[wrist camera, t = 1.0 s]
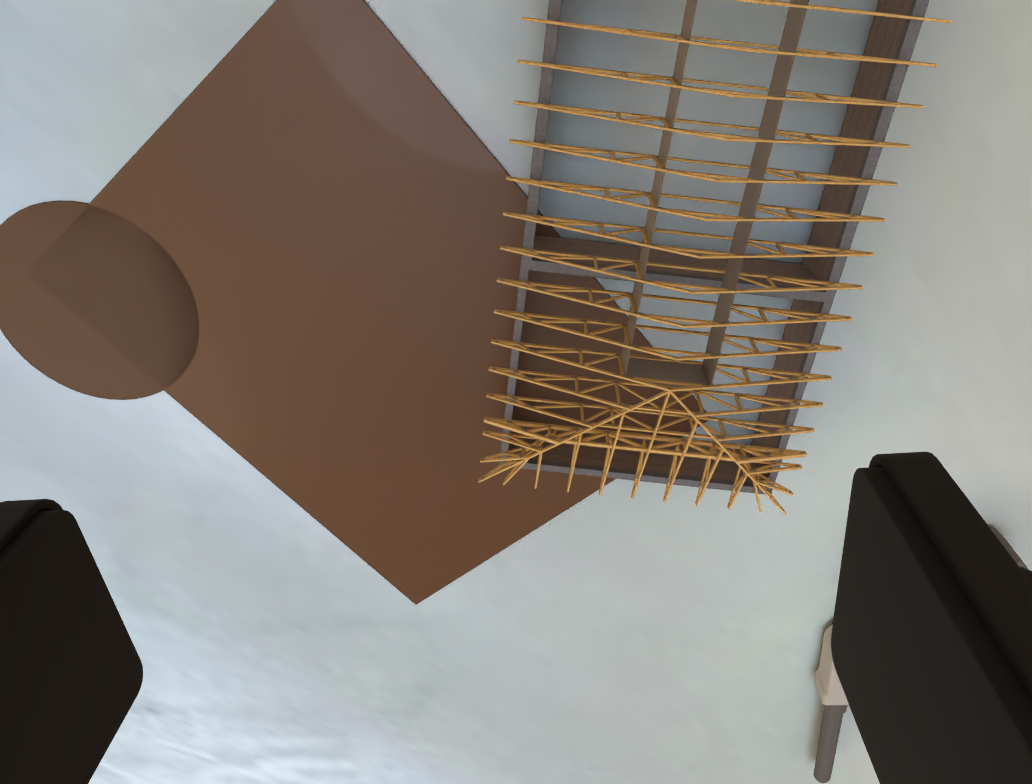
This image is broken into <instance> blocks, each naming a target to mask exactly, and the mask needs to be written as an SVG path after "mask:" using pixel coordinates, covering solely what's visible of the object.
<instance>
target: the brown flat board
mask: <svg viewBox="0 0 1032 784" xmlns="http://www.w3.org/2000/svg"><path fill="white" fill-rule="evenodd" d="M507 176H508V177H511V176H510V175H509V174H508V173H507V171H506V170H505V169H504V168H503V167H502V165H501V164H500V163H499V162H498V161H497V159H496V158H495V157H494V156H493V155H492V153H491V152H490V151H489V150H488V149H487V147H486V146H485V145H484V144H483V143H482V141H481V140H480V139H479V138H478V137H477V135H476V134H475V133H474V132H473V131H472V129H471V128H470V127H469V126H468V125H467V123H466V122H465V121H464V120H463V119H462V117H461V116H460V115H459V114H458V113H457V111H456V110H455V109H454V108H453V107H452V105H451V104H450V103H449V102H448V101H447V99H446V98H445V97H444V96H443V95H442V93H441V92H440V91H439V90H438V88H437V87H436V86H435V85H434V84H433V82H432V81H431V80H430V79H429V78H428V76H427V75H426V74H425V73H424V72H423V70H422V69H421V68H420V67H419V66H418V64H417V63H416V62H415V61H414V60H413V58H412V57H411V56H410V55H409V54H408V52H407V51H406V50H405V49H404V48H403V46H402V45H401V44H400V43H399V42H398V40H397V39H396V38H395V37H394V36H393V34H392V33H391V32H390V31H389V30H388V28H387V27H386V26H385V25H384V24H383V22H382V21H381V20H380V19H379V18H378V16H377V15H376V14H375V13H374V12H373V10H372V9H371V8H370V7H369V6H368V4H367V3H366V2H365V1H364V0H277V1H276V2H275V3H274V4H273V5H272V6H271V7H270V8H269V9H268V10H267V11H266V13H265V14H264V15H263V16H262V17H261V18H260V19H259V20H258V21H257V22H256V23H255V24H254V26H253V27H252V28H251V29H250V30H249V31H248V32H247V33H246V34H245V35H244V36H243V38H242V39H241V40H240V41H239V42H238V43H237V44H236V45H235V46H234V47H233V48H232V49H231V51H230V52H229V53H228V54H227V55H226V56H225V57H224V58H223V59H222V60H221V61H220V62H219V64H218V65H217V66H216V67H215V68H214V69H213V70H212V71H211V72H210V73H209V74H208V76H207V77H206V78H205V79H204V80H203V81H202V82H201V83H200V84H199V85H198V86H197V87H196V89H195V90H194V91H193V92H192V93H191V94H190V95H189V96H188V97H187V98H186V99H185V101H184V102H183V103H182V104H181V105H180V106H179V107H178V108H177V109H176V110H175V111H174V112H173V114H172V115H171V116H170V117H169V118H168V119H167V120H166V121H165V122H164V123H163V124H162V125H161V127H160V128H159V129H158V130H157V131H156V132H155V133H154V134H153V135H152V136H151V137H150V139H149V140H148V141H147V142H146V143H145V144H144V145H143V146H142V147H141V148H140V149H139V150H138V152H137V153H136V154H135V155H134V156H133V157H132V158H131V159H130V160H129V161H128V162H127V164H126V165H125V166H124V167H123V168H122V169H121V170H120V171H119V172H118V173H117V174H116V175H115V177H114V178H113V179H112V180H111V181H110V182H109V183H108V184H107V185H106V186H105V187H104V188H103V190H102V191H101V192H100V193H99V194H98V195H97V196H96V197H95V198H94V199H93V200H92V202H91V203H90V204H88V203H82V202H76V201H51V202H43V203H39V204H35V205H32V206H29V207H27V208H25V209H22V210H20V211H18V212H17V213H15V214H14V215H12V216H11V217H9V218H8V219H7V220H6V221H5V222H4V223H3V224H2V225H0V329H1V331H2V332H3V334H4V336H5V337H6V338H7V339H8V341H9V342H10V343H11V345H12V346H13V347H14V348H15V349H16V350H17V351H18V352H19V354H20V355H21V356H22V357H23V358H24V359H26V360H27V361H28V362H29V363H30V364H31V365H32V366H34V367H35V368H36V369H38V370H39V371H40V372H42V373H43V374H44V375H46V376H47V377H49V378H51V379H53V380H54V381H56V382H58V383H59V384H62V385H64V386H66V387H68V388H70V389H72V390H75V391H78V392H81V393H83V394H87V395H91V396H95V397H99V398H106V399H117V400H127V399H137V398H142V397H147V396H150V395H153V394H156V393H158V392H161V391H162V390H164V391H165V392H167V393H168V394H169V395H170V396H171V397H172V398H174V399H175V400H176V401H177V402H178V403H180V404H181V405H182V406H183V407H184V408H185V409H187V410H188V411H189V412H190V413H191V414H192V415H194V416H195V417H196V418H197V419H198V420H199V421H201V422H202V423H203V424H204V425H205V426H207V427H208V428H209V429H210V430H211V431H212V432H214V433H215V434H216V435H217V436H218V437H219V438H221V439H222V440H223V441H224V442H225V443H227V444H228V445H229V446H230V447H231V448H232V449H234V450H235V451H236V452H237V453H238V454H239V455H241V456H242V457H243V458H244V459H245V460H246V461H248V462H249V463H250V464H251V465H252V466H254V467H255V468H256V469H257V470H258V471H259V472H261V473H262V474H263V475H264V476H265V477H266V478H268V479H269V480H270V481H271V482H272V483H274V484H275V485H276V486H277V487H278V488H279V489H281V490H282V491H283V492H284V493H285V494H286V495H288V496H289V497H290V498H291V499H292V500H293V501H295V502H296V503H297V504H298V505H299V506H301V507H302V508H303V509H304V510H305V511H306V512H308V513H309V514H310V515H311V516H312V517H313V518H315V519H316V520H317V521H318V522H319V523H321V524H322V525H323V526H324V527H325V528H326V529H328V530H329V531H330V532H331V533H332V534H333V535H335V536H336V537H337V538H338V539H339V540H340V541H342V542H343V543H344V544H345V545H346V546H348V547H349V548H350V549H351V550H352V551H353V552H355V553H356V554H357V555H358V556H359V557H360V558H362V559H363V560H364V561H365V562H366V563H367V564H369V565H370V566H371V567H372V568H373V569H375V570H376V571H377V572H378V573H379V574H380V575H382V576H383V577H384V578H385V579H386V580H387V581H389V582H390V583H391V584H392V585H393V586H395V587H396V588H397V589H398V590H399V591H400V592H402V593H403V594H404V595H405V596H406V597H407V598H409V599H410V600H411V601H412V602H413V603H414V604H418V603H419V602H421V601H423V600H424V599H426V598H427V597H429V596H430V595H432V594H434V593H435V592H437V591H438V590H440V589H442V588H443V587H445V586H446V585H448V584H449V583H451V582H453V581H454V580H456V579H457V578H459V577H461V576H462V575H464V574H465V573H467V572H469V571H470V570H472V569H473V568H475V567H476V566H478V565H480V564H481V563H483V562H484V561H486V560H488V559H489V558H491V557H492V556H494V555H496V554H497V553H499V552H500V551H502V550H503V549H505V548H507V547H508V546H510V545H511V544H513V543H515V542H516V541H518V540H519V539H521V538H522V537H524V536H526V535H527V534H529V533H530V532H532V531H534V530H535V529H537V528H538V527H540V526H542V525H543V524H545V523H546V522H548V521H549V520H551V519H553V518H554V517H556V516H557V515H559V514H561V513H562V512H564V511H565V510H567V509H569V508H570V507H572V506H573V505H575V504H576V503H578V502H580V501H581V500H583V499H584V498H586V497H588V496H589V495H591V494H592V493H594V492H595V491H597V490H599V489H600V485H601V480H602V477H597V476H588V475H579V474H573V475H572V480H571V484H570V488H569V492H567V486H568V480H569V473H560V472H550V471H541V470H539V476H538V481H537V487H536V489H535V481H536V474H537V470H531V469H522V468H520V469H519V470H518V472H517V473H516V474H515V475H514V476H513V477H512V478H511V479H510V480H509V481H508V482H507V483H506V484H505V485H503V481H504V480H505V478H506V477H507V476H508V474H509V473H510V471H511V470H512V469H513V467H511V468H509V469H507V470H505V471H503V472H501V473H498V474H496V475H494V476H492V477H490V478H488V479H486V480H484V481H482V482H478V479H479V478H481V477H482V476H484V475H485V474H487V473H488V472H490V471H491V470H493V469H494V468H496V467H497V466H499V463H500V461H493V462H480V458H484V457H488V456H491V455H495V454H499V453H501V444H502V441H501V440H498V439H495V438H492V437H489V436H485V435H483V431H490V432H500V433H503V428H501V427H498V426H494V425H491V424H488V423H485V422H484V417H489V418H498V419H504V416H505V407H506V403H505V402H502V401H499V400H495V399H492V398H488V397H486V393H492V394H501V395H507V388H508V379H509V376H507V375H503V374H500V373H496V372H493V371H489V367H498V368H507V369H510V360H511V351H512V348H508V347H504V346H501V345H497V344H493V343H491V339H494V340H504V341H513V333H514V323H515V318H511V317H507V316H504V315H500V314H496V313H494V309H496V310H505V311H515V312H516V305H517V295H518V287H516V286H512V285H508V284H504V283H500V282H497V278H500V279H510V280H519V277H520V268H521V258H522V254H518V253H514V252H510V251H505V250H501V249H500V246H508V247H517V248H523V240H524V230H525V221H526V220H523V219H518V218H514V217H509V216H505V215H503V212H510V213H519V214H526V212H527V203H528V197H527V196H526V194H525V193H524V192H523V191H522V190H521V188H520V187H519V186H518V185H517V184H516V182H515V181H511V180H506V177H507ZM537 216H543V215H542V214H541V212H540V211H539V210H538V211H537ZM543 220H544V219H543ZM546 221H547V220H546ZM535 235H541V236H550V237H559V238H561V236H560V235H559V234H558V233H557V232H556V230H555V229H554V228H553V227H552V226H550V225H545V224H541V223H536V228H535ZM527 281H528V282H537V283H546V284H555V285H565V286H574V287H583V288H592V289H601V290H605V289H604V288H603V287H602V286H601V285H600V283H599V282H598V281H597V280H596V279H595V277H588V276H579V275H570V274H561V273H551V272H542V271H533V270H529V271H528V280H527ZM533 286H534V285H533ZM536 287H538V288H542V289H561V288H552V287H543V286H536ZM554 293H558V294H562V295H566V296H570V297H574V298H578V299H582V300H586V301H590V300H589V292H554ZM592 298H593V301H597V300H602V299H607V298H611V297H610V295H609V294H607V293H598V292H592ZM598 304H602V305H606V306H611V307H615V308H619V309H620V307H619V306H618V305H617V304H616V303H615V301H614V300H611V301H606V302H602V303H598ZM524 313H533V314H542V315H551V316H561V317H570V318H579V319H588V320H598V321H607V322H616V323H625V324H627V323H628V317H627V316H626V315H625V313H621V312H617V311H613V310H609V309H605V308H601V307H597V306H593V305H589V304H585V303H581V302H577V301H572V300H568V299H564V298H560V297H556V296H552V295H548V294H544V293H540V292H536V291H532V290H528V289H526V297H525V306H524ZM531 318H533V319H536V320H557V319H547V318H538V317H531ZM547 324H551V325H555V326H559V327H563V328H567V329H571V330H574V331H578V332H582V333H585V331H584V323H547ZM611 327H615V326H612V325H603V324H594V323H587V330H588V333H591V332H595V331H599V330H603V329H607V328H611ZM594 336H598V337H601V338H605V339H609V340H613V341H617V342H621V343H624V339H625V333H624V328H619V329H615V330H611V331H607V332H603V333H599V334H595V335H594ZM521 342H522V343H531V344H541V345H550V346H559V347H568V348H578V349H587V350H596V351H606V352H615V353H622V350H623V346H619V345H615V344H611V343H607V342H603V341H600V340H596V339H592V338H588V337H584V336H580V335H577V334H573V333H569V332H565V331H561V330H557V329H553V328H550V327H546V326H542V325H538V324H534V323H530V322H527V321H523V324H522V333H521ZM632 344H633V345H637V346H643V347H652V346H651V345H650V343H649V342H648V341H647V340H646V339H645V337H644V336H643V335H642V334H641V333H640V331H639V330H638V329H637V328H635V330H634V336H633V341H632ZM526 347H527V346H526ZM520 348H521V347H520ZM528 348H529V349H532V350H555V349H545V348H536V347H528ZM655 352H656V351H655ZM543 354H546V355H550V356H554V357H557V358H561V359H565V360H568V361H572V362H576V363H579V364H580V357H579V353H543ZM630 354H633V355H643V356H652V357H660V356H657V355H653V354H649V353H646V352H642V351H638V350H634V349H631V351H630ZM609 356H610V355H601V354H592V353H583V352H582V357H583V364H584V363H587V362H591V361H595V360H598V359H602V358H606V357H609ZM588 366H590V367H594V368H598V369H601V370H605V371H609V372H612V373H616V374H620V375H621V372H620V366H619V360H618V358H613V359H609V360H606V361H602V362H598V363H595V364H591V365H588ZM517 370H525V371H535V372H544V373H553V374H563V375H572V376H581V377H591V378H600V379H609V380H618V381H628V382H632V381H629V380H625V379H621V378H618V377H614V376H610V375H607V374H603V373H599V372H596V371H592V370H588V369H585V368H581V367H577V366H574V365H570V364H566V363H563V362H559V361H555V360H552V359H548V358H544V357H541V356H537V355H534V354H530V353H526V352H523V351H519V359H518V368H517ZM508 373H509V372H508ZM521 374H523V373H521ZM523 375H525V376H527V377H530V378H555V377H551V376H542V375H533V374H523ZM540 382H544V383H547V384H551V385H554V386H558V387H561V388H565V389H568V390H572V391H575V392H576V389H575V380H542V381H540ZM603 384H607V382H598V381H588V380H579V379H578V391H582V390H586V389H589V388H593V387H596V386H600V385H603ZM623 385H625V386H626V387H628V388H630V389H631V390H633V391H635V392H636V393H638V394H640V395H641V396H643V397H645V398H646V399H649V398H651V397H653V396H655V395H657V394H659V393H661V392H663V391H665V390H662V389H658V388H654V387H644V386H635V385H626V384H623ZM618 388H619V395H620V402H621V403H624V404H627V405H636V404H638V403H640V402H642V401H644V400H643V399H641V398H639V397H637V396H636V395H634V394H632V393H631V392H629V391H627V390H626V389H624V388H622V387H621V386H619V385H618ZM673 393H674V394H675V395H676V396H677V397H678V398H680V397H682V396H683V395H685V394H687V393H689V391H673ZM582 394H586V395H590V396H593V397H597V398H600V399H604V400H607V401H611V402H614V403H618V402H617V395H616V388H615V384H614V385H610V386H607V387H603V388H600V389H596V390H593V391H589V392H586V393H582ZM666 395H667V394H666ZM666 395H664V396H661V397H659V398H657V399H655V400H653V401H651V402H653V403H655V404H657V405H658V406H660V407H663V404H664V401H665V398H666ZM514 396H520V397H529V398H538V399H548V400H557V401H566V402H576V403H585V404H594V405H604V406H612V405H609V404H605V403H602V402H598V401H595V400H591V399H588V398H584V397H580V396H577V395H573V394H570V393H566V392H563V391H559V390H556V389H552V388H549V387H545V386H542V385H538V384H535V383H531V382H528V381H524V380H521V379H517V378H516V386H515V395H514ZM504 399H506V398H504ZM674 400H676V399H675V398H674V397H673V396H672V395H671V393H670V396H669V398H668V401H667V404H668V403H670V402H672V401H674ZM521 401H523V402H524V403H526V404H528V405H531V406H548V405H564V404H555V403H545V402H536V401H527V400H521ZM681 401H682V402H683V403H684V404H685V405H686V407H687V408H688V409H689V410H690V411H691V412H699V411H701V410H700V407H699V404H698V401H697V400H696V399H695V398H694V396H693V395H690V396H688V397H686V398H684V399H682V400H681ZM514 402H517V401H514ZM517 403H518V402H517ZM642 406H644V407H654V406H653V405H651V404H649V403H647V404H644V405H642ZM613 407H616V406H613ZM654 408H656V407H654ZM540 409H541V410H545V411H548V412H551V413H555V414H558V415H562V416H565V417H568V418H572V419H575V420H579V421H581V410H580V407H565V408H540ZM666 409H672V410H682V411H687V410H686V409H685V408H684V407H683V406H682V405H681V404H680V403H679V402H677V403H675V404H673V405H671V406H669V407H668V408H666ZM703 409H704V408H703ZM604 410H605V409H601V408H592V407H583V413H584V420H586V419H588V418H590V417H592V416H594V415H596V414H598V413H600V412H602V411H604ZM619 411H620V410H619ZM704 412H705V413H707V412H706V411H705V410H704ZM613 414H614V415H615V414H617V412H615V411H613ZM625 414H627V415H629V416H631V417H633V418H635V419H637V420H638V421H640V422H642V423H644V424H646V425H648V426H650V427H652V428H655V427H656V424H657V421H658V418H659V415H657V414H648V413H639V412H628V413H625ZM621 416H622V415H621ZM621 416H619V417H617V418H615V419H614V422H615V425H619V423H620V419H621ZM609 417H611V414H610V411H608V412H606V413H604V414H602V415H600V416H598V417H597V418H595V419H593V420H591V421H589V422H591V423H598V422H600V421H603V420H605V419H607V418H609ZM706 417H710V416H706ZM681 418H683V417H676V416H667V415H663V416H662V418H661V421H660V424H659V426H662V425H664V424H667V423H670V422H672V421H675V420H678V419H681ZM512 420H517V421H526V422H535V423H545V424H554V425H564V426H573V427H582V428H588V427H587V426H583V425H580V424H577V423H573V422H570V421H566V420H563V419H560V418H556V417H553V416H549V415H546V414H543V413H539V412H536V411H533V410H529V409H526V408H522V407H519V406H516V405H513V412H512ZM699 420H700V421H701V422H702V423H705V422H707V421H708V420H704V419H699ZM692 422H693V425H694V424H695V421H693V420H692ZM604 424H610V425H612V422H611V421H609V422H606V423H604ZM621 426H629V427H638V428H646V427H644V426H642V425H640V424H638V423H636V422H634V421H632V420H630V419H628V418H626V417H624V418H623V422H622V425H621ZM699 426H700V424H697V427H699ZM697 427H696V428H697ZM594 429H601V430H610V431H617V430H618V429H615V428H606V427H596V428H594ZM659 430H666V431H676V432H685V433H689V432H691V431H692V429H691V426H690V422H689V419H686V420H683V421H681V422H678V423H675V424H673V425H670V426H667V427H665V428H662V429H659ZM620 432H629V433H639V434H648V435H653V432H644V431H634V430H625V429H620ZM656 435H657V436H667V437H676V438H681V437H683V436H681V435H672V434H662V433H656ZM497 436H500V435H497ZM500 437H502V436H500ZM495 458H500V456H498V457H495ZM502 468H504V467H501V468H500V469H502ZM500 469H498V470H500ZM515 470H516V468H515ZM515 470H514V471H515ZM514 471H513V472H514ZM615 479H616V478H607V477H606V480H605V483H604V486H605V485H607V484H608V483H610V482H611V481H613V480H615Z"/></svg>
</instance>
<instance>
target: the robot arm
mask: <svg viewBox="0 0 1032 784" xmlns="http://www.w3.org/2000/svg"><path fill="white" fill-rule="evenodd" d="M831 652H832V659H833V663H834V667H835V670H836V673H837V675H838V678H839V680H840V683H841V686H842V688H843V691H844V693H845V696H846V698H847V701H848V703H849V706H850V708H851V711H852V714H853V716H854V719H855V721H856V724H857V726H858V729H859V731H860V734H861V736H862V739H863V742H864V744H865V747H866V749H867V752H868V754H869V757H870V759H871V762H872V764H873V767H874V770H875V772H876V775H877V777H878V780H879V782H880V784H1032V571H1030V570H1028V569H1026V568H1024V567H1019V566H1018V565H1017V563H1016V562H1015V561H1014V559H1013V558H1012V557H1011V555H1010V554H1009V553H1008V551H1007V550H1006V549H1005V547H1004V546H1003V545H1002V543H1001V542H1000V541H999V539H998V538H997V537H996V535H995V534H994V533H993V532H992V530H991V529H990V528H989V526H988V525H987V524H986V522H985V521H984V520H983V518H982V517H981V516H980V514H979V513H978V512H977V510H976V509H975V508H974V506H973V505H972V504H971V502H970V501H969V500H968V499H967V497H966V496H965V495H964V493H963V492H962V491H961V489H960V488H959V487H958V485H957V484H956V483H955V481H954V480H953V479H952V477H951V476H950V475H949V473H948V472H947V471H946V469H945V468H944V467H943V466H942V464H941V463H940V462H939V460H938V459H937V458H936V457H935V456H934V455H933V454H932V453H929V452H912V453H894V454H877V455H875V456H874V457H873V458H872V460H871V462H870V465H869V468H859V469H857V470H856V472H855V473H854V477H853V483H852V490H851V497H850V504H849V511H848V518H847V526H846V533H845V540H844V547H843V554H842V561H841V569H840V576H839V583H838V590H837V597H836V605H835V612H834V619H833V626H832V633H831ZM142 679H143V667H142V663H141V660H140V658H139V656H138V654H137V651H136V649H135V647H134V645H133V643H132V641H131V638H130V636H129V634H128V632H127V630H126V628H125V625H124V623H123V621H122V619H121V617H120V615H119V612H118V610H117V608H116V606H115V604H114V601H113V599H112V597H111V595H110V593H109V591H108V588H107V586H106V584H105V582H104V580H103V578H102V575H101V573H100V571H99V569H98V567H97V565H96V562H95V560H94V558H93V556H92V554H91V552H90V549H89V547H88V545H87V543H86V541H85V539H84V536H83V534H82V532H81V530H80V528H79V526H78V523H77V521H76V519H75V518H74V516H73V515H72V514H71V513H70V512H68V511H65V510H63V509H62V507H61V506H60V505H59V504H58V503H56V502H55V501H54V500H49V499H38V500H19V501H5V502H1V503H0V784H88V783H89V781H90V779H91V777H92V775H93V774H94V772H95V770H96V768H97V767H98V765H99V763H100V761H101V759H102V758H103V756H104V754H105V752H106V750H107V749H108V747H109V745H110V743H111V741H112V740H113V738H114V736H115V734H116V733H117V731H118V729H119V727H120V725H121V724H122V722H123V720H124V718H125V716H126V715H127V713H128V711H129V709H130V707H131V706H132V704H133V702H134V700H135V698H136V697H137V695H138V693H139V690H140V688H141V684H142Z"/></svg>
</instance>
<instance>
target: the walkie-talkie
mask: <svg viewBox="0 0 1032 784" xmlns="http://www.w3.org/2000/svg"><path fill="white" fill-rule="evenodd" d="M989 528H990V529H991V530H992V532H993V533H994V534H995V535H996V537H997V538H998V539H999V541H1000V542H1001V543H1002V545H1003V546H1004V547H1005V549H1006V550H1007V551H1008V553H1009V554H1010V555H1011V557H1012V558H1013V559H1014V561H1015V562H1016V563H1017V565H1018V566H1019V567H1024V568H1026V569H1028V568H1027V567H1026V565H1025V564H1024V563H1023V561H1022V560H1021V559H1020V557H1019V556H1018V555H1017V554H1016V552H1015V551H1014V550H1013V548H1012V547H1011V546H1010V544H1009V543H1008V542H1007V541H1006V539H1005V538H1004V537H1003V536H1002V535H1001V534H1000V533H999V532H998V531H997V530H996V529H995V528H994V527H989ZM832 626H833V624H832V625H831V626H830V627H828V628H827V629H826V631H825V633H824V638H823V644H822V650H821V656H820V662H819V668H818V669H817V670H816V671H815V677H814V682H815V685H816V688H817V690H818V693H819V696H820V699H821V702H822V703H823V707H824V713H823V719H822V725H821V730H820V736H819V742H818V751H817V757H816V763H815V769H814V777H815V779H816V780H817V781H819V782H820V783H826V782H828V781H829V780H830V778H831V773H832V768H833V763H834V758H835V753H836V747H837V742H838V737H839V732H840V727H841V722H842V716H843V714H844V713H845V712H846V708H847V705H849V703H848V701H847V698H846V696H845V693H844V691H843V688H842V686H841V683H840V680H839V678H838V675H837V673H836V670H835V667H834V663H833V659H832V652H831V633H832Z"/></svg>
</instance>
